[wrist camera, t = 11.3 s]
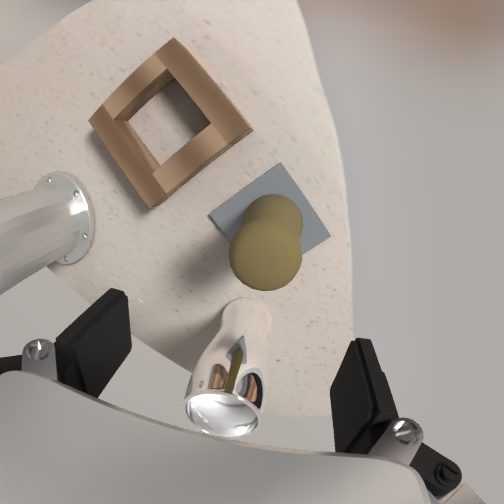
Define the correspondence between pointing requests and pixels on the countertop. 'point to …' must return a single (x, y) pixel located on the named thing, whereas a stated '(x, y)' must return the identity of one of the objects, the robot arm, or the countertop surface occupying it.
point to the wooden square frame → (191, 154)
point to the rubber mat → (269, 183)
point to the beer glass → (232, 374)
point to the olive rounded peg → (268, 243)
